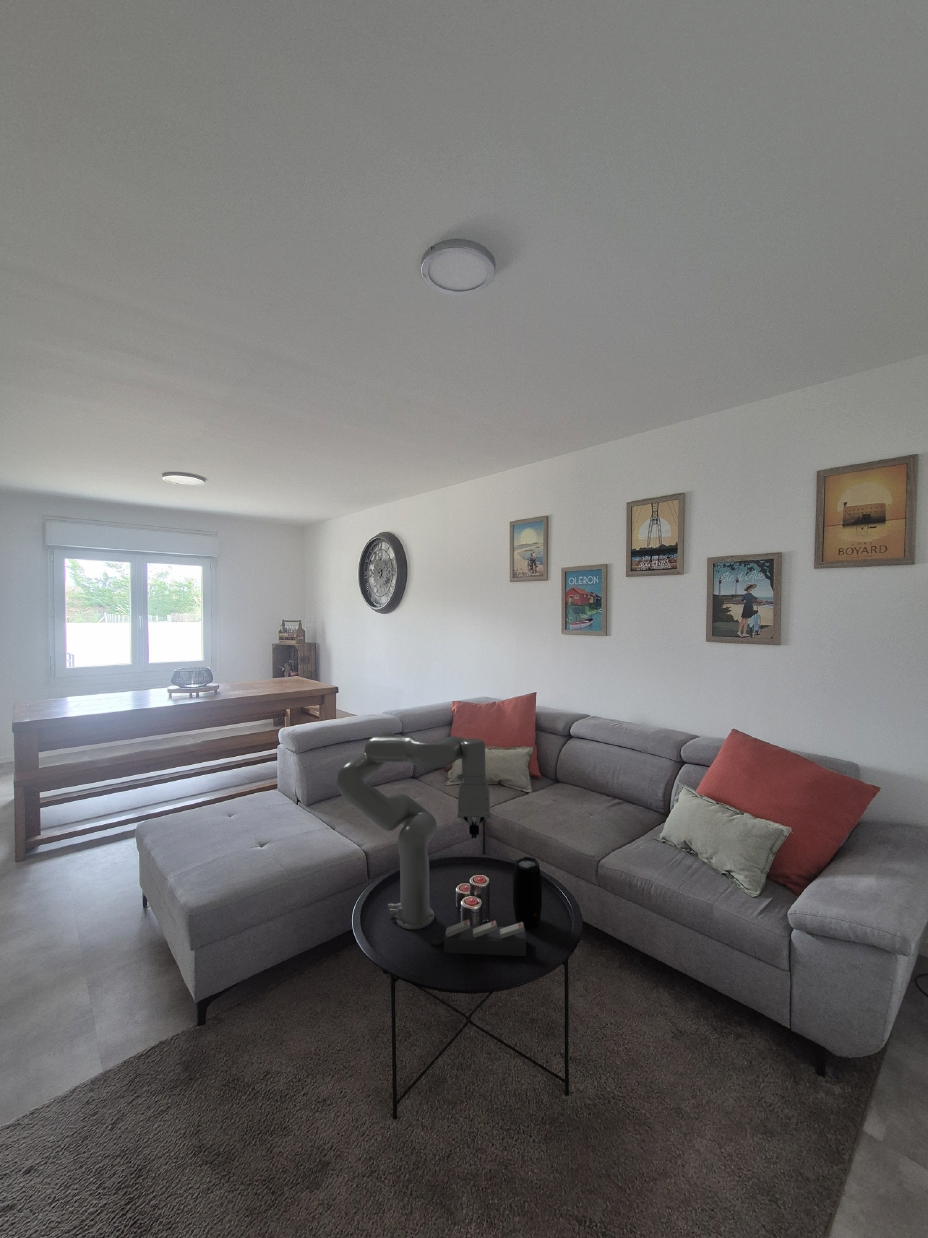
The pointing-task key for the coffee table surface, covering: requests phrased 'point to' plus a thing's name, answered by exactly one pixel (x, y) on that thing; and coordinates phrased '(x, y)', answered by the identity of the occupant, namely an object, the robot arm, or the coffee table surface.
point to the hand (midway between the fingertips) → (474, 836)
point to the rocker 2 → (484, 929)
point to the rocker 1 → (458, 928)
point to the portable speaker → (527, 891)
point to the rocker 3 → (512, 930)
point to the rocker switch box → (484, 943)
